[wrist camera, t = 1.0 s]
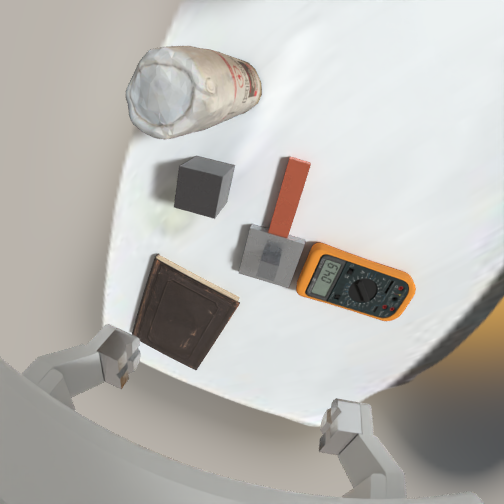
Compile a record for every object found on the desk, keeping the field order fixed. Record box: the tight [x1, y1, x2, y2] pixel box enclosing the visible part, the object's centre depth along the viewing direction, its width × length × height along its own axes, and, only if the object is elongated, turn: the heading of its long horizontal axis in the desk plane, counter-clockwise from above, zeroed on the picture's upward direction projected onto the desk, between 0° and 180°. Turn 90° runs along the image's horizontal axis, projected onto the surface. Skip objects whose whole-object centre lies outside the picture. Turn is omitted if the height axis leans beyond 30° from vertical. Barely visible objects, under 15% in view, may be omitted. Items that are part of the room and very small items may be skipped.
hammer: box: [239, 157, 311, 288], centre depth 41 cm, size 19×8×5 cm, turn 167°
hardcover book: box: [132, 254, 240, 370], centre depth 56 cm, size 16×23×2 cm
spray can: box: [126, 46, 262, 139], centre depth 26 cm, size 8×8×20 cm
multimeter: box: [296, 243, 416, 321], centre depth 44 cm, size 9×18×3 cm, turn 75°
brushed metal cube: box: [174, 156, 235, 219], centre depth 39 cm, size 6×6×6 cm
